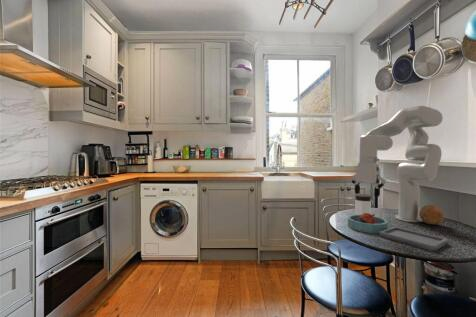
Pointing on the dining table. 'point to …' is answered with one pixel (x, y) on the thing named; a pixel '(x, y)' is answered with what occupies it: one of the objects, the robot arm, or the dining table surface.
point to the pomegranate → (367, 218)
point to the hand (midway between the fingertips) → (366, 195)
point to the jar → (362, 204)
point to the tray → (414, 238)
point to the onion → (431, 214)
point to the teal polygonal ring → (367, 224)
